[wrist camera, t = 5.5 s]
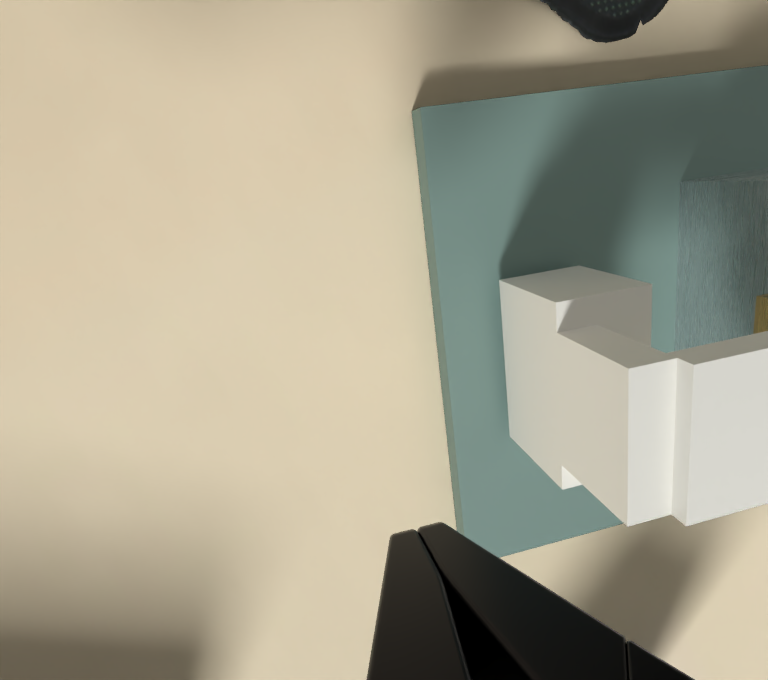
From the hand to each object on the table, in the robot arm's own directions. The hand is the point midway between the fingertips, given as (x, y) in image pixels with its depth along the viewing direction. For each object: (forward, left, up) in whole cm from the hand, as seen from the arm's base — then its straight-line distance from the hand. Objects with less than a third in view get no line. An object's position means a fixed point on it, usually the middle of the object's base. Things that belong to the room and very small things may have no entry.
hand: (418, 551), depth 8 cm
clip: (-7, 0, -7) cm, 9 cm away
